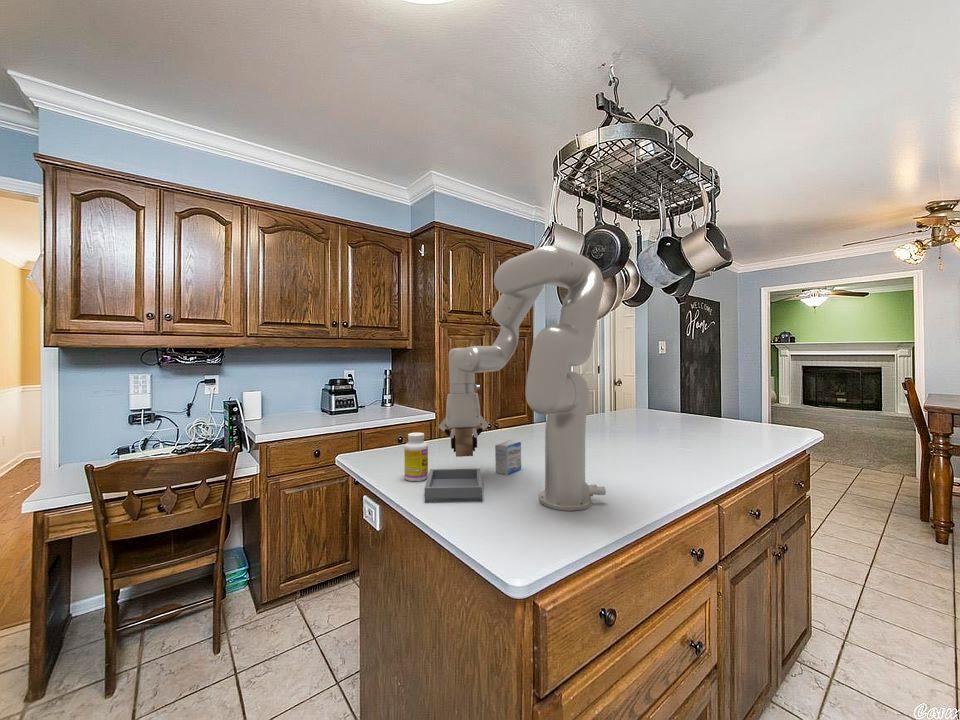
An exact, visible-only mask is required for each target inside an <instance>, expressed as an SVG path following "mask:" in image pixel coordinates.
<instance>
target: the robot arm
mask: <svg viewBox="0 0 960 720" xmlns="http://www.w3.org/2000/svg"><path fill="white" fill-rule="evenodd" d="M602 274H603V273H602V272H601V270H600V268H599V266H598V265H597V264H596V263H595V262H593V261H592V260H591V259H589V258H588V257H586V256H584V255H582V254H580V253H577V252H574V251H572V250H568V249H565V248H562V247H560V246H555V245H544V246H540V247H537V248H534V249H532V250H530V251H528V252H524V253H521V254H519V255H517V256H515V257H511V258H509V259H507V260H506V261H504V262H503V263H501V264H500V265H499V266H498V268H497V269H496V271H495V273H494V277H493V285H494V287H495V289H496V291H498V293H500V294H501V295H500V296H499V297H498V299H497V302H496V303H495V305H494V306H493V307H492V309H491V316H492V318H493V319H494V321H495V322H497V324H499V326H500V331H499V333H498V336H497V337H496V339H495V341H494V342H493V344H492V345H472V346H467V347H455V348H451V349H449V352H448V371H449V373H448V375H449V376H448V377H449V379H448V380H449V393H448V394H447V397H446V407H445V409H446V410H445V417H444V419H443V420H442V421H441V422H440V424H439V425H438V429H439V430H441V431H442V432H444V433H445V435H447V436H448V437H449V438H450V448H451V449H453V453H456V445H455V429H456V428H472V438H473V452H475V451H476V448H478V437H479V436H480V435H481V433H482V432H483V431H484V430H485V429H487V428H488V427H489V423H488V422H487V420H485V418H484V417H483V416H482V415H481V407H480V406H481V405H480V398H479V394H478V392H477V393H476V391H477V390H480V389H481V386H480V384H476V375H475V374H476V373H487V372H490V373H491V372H498V371H499V370H502V369H503V368H504V367H505V366H506V365H507V364H508V362H510V359H511V358H512V356H513V355H514V353H515V352H516V349H517V347H518V344H519V338H520V326H521V324H522V323H523V321H524V320H525V318H526V316H527V314H528V313H529V311H530V310H531V308H532V307H533V305H534V303H535V302H536V301H537V299H538V297H539V295H540V294H541V293H542V291H543V288H544V287H545V285H551V286H555V287H561V288H565V289H567V290H568V292H567V294H566V296H565V298H564V300H563V302H562V304H561V309H560V315H559V320H558V323H557V324H552V325H548V326H546V327H544V328H542V329H541V330H540V331H539V332H538V334H537V335H536V336H535V338H534V340H533V343H532V346H531V350H530V351H531V352H530V356H529V357H530V358H529V363H528V370H527V375H526V383H525V390H524V391H525V392H524V394H525V400H526V402H527V404H528V406H529V408H530V409H531V410H532V411H533V412H534V413H536V414H539V415H542V416H547V417H546V421H545V426H544V427H545V429H544V433H545V434H544V458H545V459H544V463H545V464H544V490H542V491H541V492H540V493H539V494H538V502H540V504H542V506H545V507H548V508H550V509H553V510H557V511H581V510H585V509H587V508H589V507H591V506H592V503H593V498H592V497H593V495H594V496H596V495H597V496H605V495H606V494H607V493H606V492H607V490H606V487H605V486H598V485H597V484H588V483H587V482H586V430H587V429H586V427H587V426H586V424H587V422H586V421H587V412H588V406H589V405H588V404H589V399H590V390H589V389H590V388H589V385H588V382H587V381H586V380H585V378H584V377H583V376H582V375H581V374H579V373H578V372H575V371H572V370H568V369H569V368H570V367H578V366H582V365H583V364H585V363H587V362H588V360H589V358H590V356H591V355H592V350H593V343H594V338H595V333H596V327H597V323H598V322H597V321H598V316H599V310H600V305H601V302H602V297H603V292H604V278H603V275H602ZM481 424H482V425H481ZM445 425H446V426H445Z"/></svg>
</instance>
